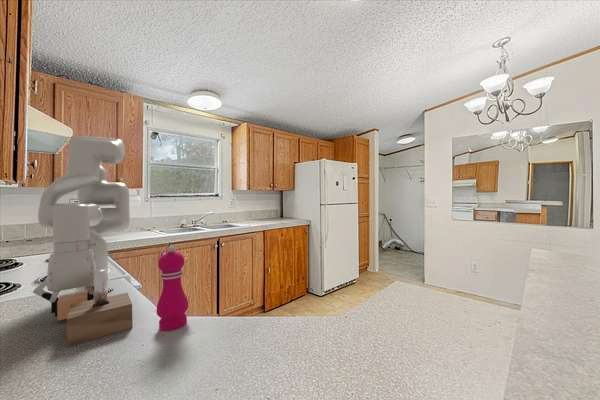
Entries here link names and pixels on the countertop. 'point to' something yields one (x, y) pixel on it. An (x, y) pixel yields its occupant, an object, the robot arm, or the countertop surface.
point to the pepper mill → (172, 292)
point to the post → (100, 287)
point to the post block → (98, 319)
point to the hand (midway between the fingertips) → (73, 310)
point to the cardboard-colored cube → (69, 303)
